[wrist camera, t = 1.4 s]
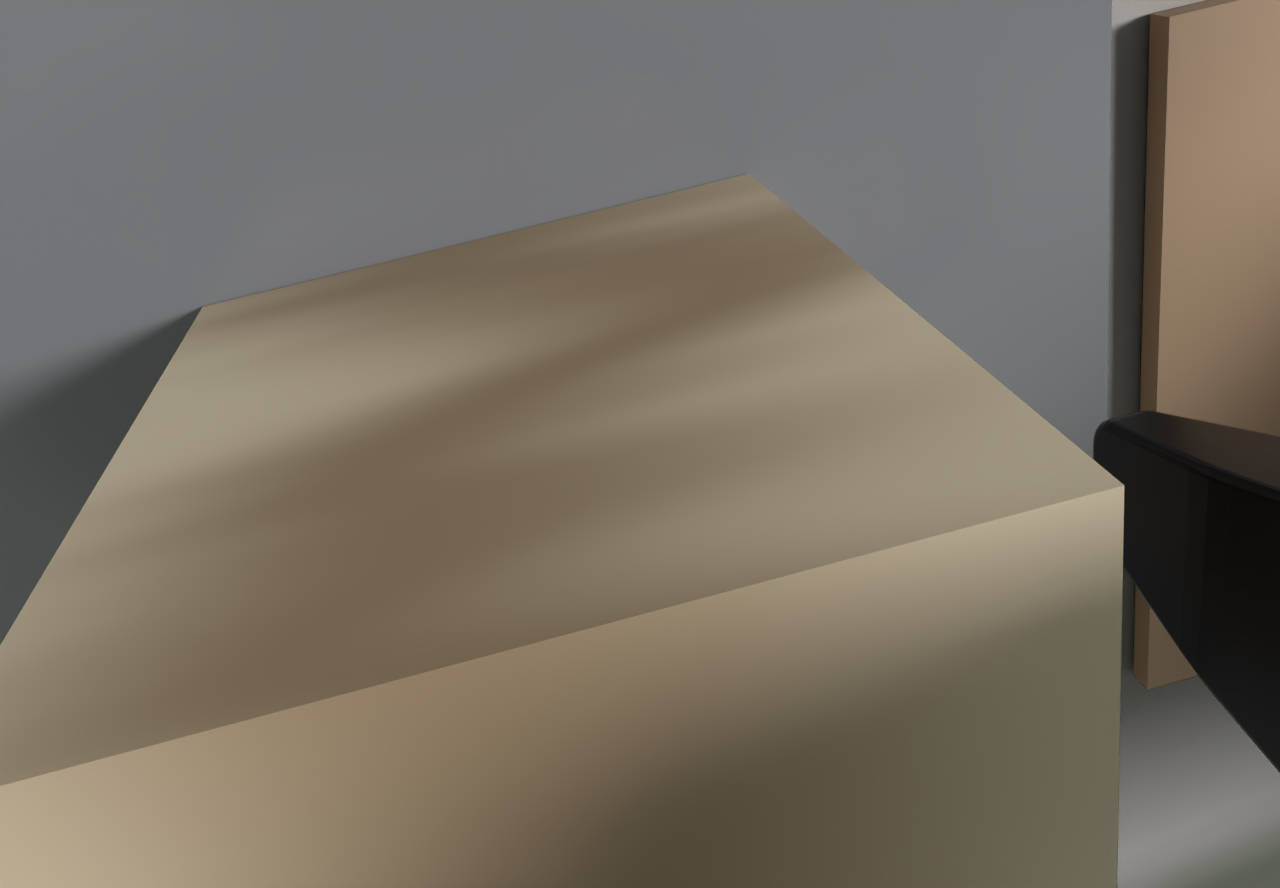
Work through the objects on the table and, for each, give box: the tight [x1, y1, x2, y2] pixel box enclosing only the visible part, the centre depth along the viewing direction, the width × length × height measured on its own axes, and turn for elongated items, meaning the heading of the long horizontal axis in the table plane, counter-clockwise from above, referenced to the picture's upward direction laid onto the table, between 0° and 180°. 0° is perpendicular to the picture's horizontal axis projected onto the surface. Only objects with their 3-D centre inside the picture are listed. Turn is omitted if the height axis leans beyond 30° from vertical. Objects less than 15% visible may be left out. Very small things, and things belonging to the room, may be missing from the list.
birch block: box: [0, 174, 1124, 888], centre depth 8 cm, size 5×5×6 cm
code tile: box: [0, 0, 1112, 645], centre depth 11 cm, size 12×12×1 cm
